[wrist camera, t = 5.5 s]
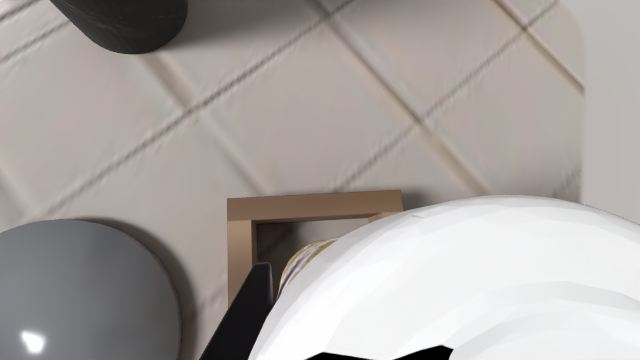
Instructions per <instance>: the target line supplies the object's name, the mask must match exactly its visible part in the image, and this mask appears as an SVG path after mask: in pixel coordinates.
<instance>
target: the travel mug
mask: <svg viewBox="0 0 640 360" xmlns="http://www.w3.org/2000/svg"><path fill="white" fill-rule="evenodd" d="M50 1H51V2H52V3H53V4H54V5H55V6H56V7H57V8H58V9H59V10H60V11H61V12H62V13H63V14H64V15H65V16H66V17H67V18H68V19H69V20H70V21H71V22H72V23H73V24H74V25H75V26H76V27H77V28H79V29H80V30H81V31H82V32H83V33H84V34H85V35H86V36H87V37H88V38H90V39H91V40H92V41H93V42H94V43H96V44H98V45H99V46H101V47H103V48H105V49H107V50H110V51H113V52H118V53H124V54H138V53H144V52H148V51H152V50H154V49H157V48H159V47H161V46H163V45H164V44H166V43H167V42H169V41H170V40H171V39H172V38H173V37H175V35H176V34H177V33H178V32H179V30H180V29H181V27H182V26H183V23H184V21H185V18H186V14H187V0H50Z"/></svg>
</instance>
